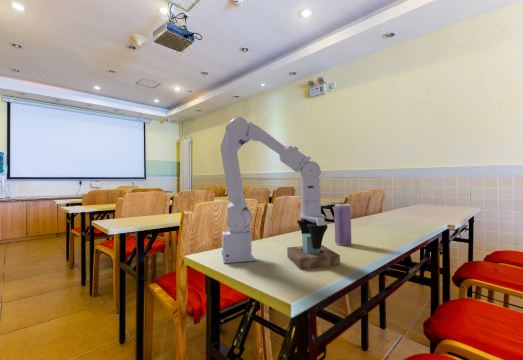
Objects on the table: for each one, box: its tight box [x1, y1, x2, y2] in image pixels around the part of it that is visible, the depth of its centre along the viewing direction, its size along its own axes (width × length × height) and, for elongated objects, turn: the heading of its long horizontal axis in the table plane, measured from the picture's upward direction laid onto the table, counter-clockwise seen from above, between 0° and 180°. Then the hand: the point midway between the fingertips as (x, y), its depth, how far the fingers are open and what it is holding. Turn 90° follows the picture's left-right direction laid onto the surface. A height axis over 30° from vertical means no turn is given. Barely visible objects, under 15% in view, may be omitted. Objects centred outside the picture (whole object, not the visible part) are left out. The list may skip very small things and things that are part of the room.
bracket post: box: [301, 233, 320, 255], centre depth 78 cm, size 4×4×8 cm
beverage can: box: [333, 203, 352, 247], centre depth 97 cm, size 6×6×15 cm
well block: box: [286, 244, 341, 270], centre depth 78 cm, size 12×12×3 cm
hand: (311, 245), depth 78 cm, fingers open, 7 cm apart
